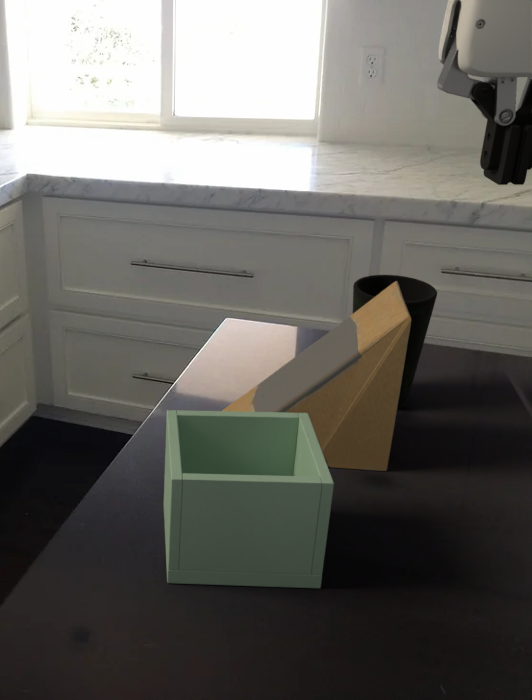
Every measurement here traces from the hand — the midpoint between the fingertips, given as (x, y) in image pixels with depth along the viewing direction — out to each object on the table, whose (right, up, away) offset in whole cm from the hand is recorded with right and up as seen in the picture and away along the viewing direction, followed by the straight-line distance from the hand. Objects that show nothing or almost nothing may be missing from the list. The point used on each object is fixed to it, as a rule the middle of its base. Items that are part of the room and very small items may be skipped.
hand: (503, 179), depth 60 cm
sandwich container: (-9, -21, +21) cm, 31 cm away
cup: (+2, -17, +29) cm, 33 cm away
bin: (-12, -23, +5) cm, 26 cm away
